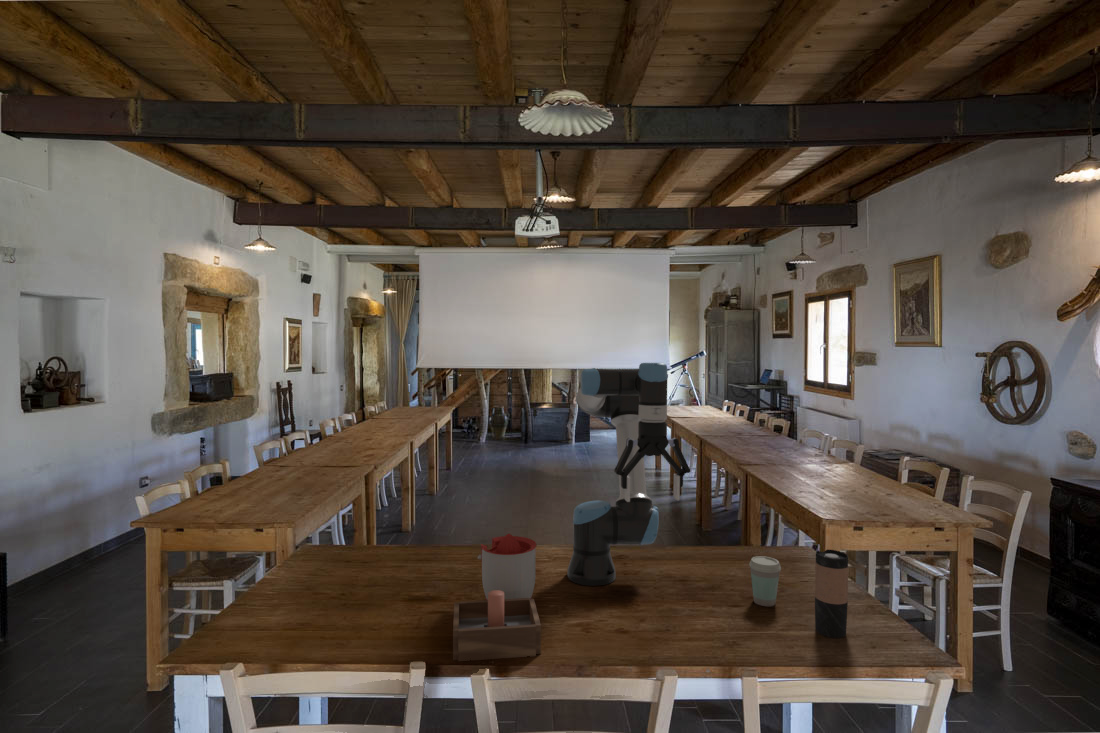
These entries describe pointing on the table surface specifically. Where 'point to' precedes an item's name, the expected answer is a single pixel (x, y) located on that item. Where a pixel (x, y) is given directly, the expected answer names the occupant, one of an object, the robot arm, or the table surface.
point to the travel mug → (831, 593)
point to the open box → (496, 631)
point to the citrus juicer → (509, 566)
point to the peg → (495, 608)
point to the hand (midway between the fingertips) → (652, 500)
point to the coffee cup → (764, 579)
